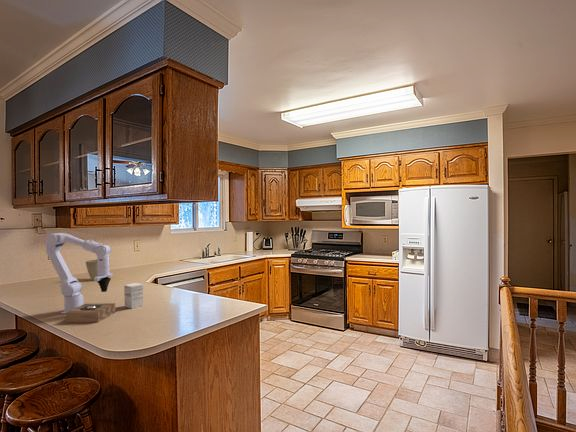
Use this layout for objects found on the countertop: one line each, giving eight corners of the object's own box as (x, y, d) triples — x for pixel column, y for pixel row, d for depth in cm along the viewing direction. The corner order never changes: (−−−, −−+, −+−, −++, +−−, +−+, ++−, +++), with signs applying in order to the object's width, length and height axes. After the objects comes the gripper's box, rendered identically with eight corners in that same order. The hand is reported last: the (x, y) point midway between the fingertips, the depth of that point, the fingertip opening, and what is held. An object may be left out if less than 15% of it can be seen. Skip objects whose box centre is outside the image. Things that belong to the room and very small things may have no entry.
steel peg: (90, 315, 172) (89, 305, 172) (97, 315, 172) (97, 305, 172) (85, 317, 168) (85, 307, 168) (93, 317, 168) (93, 307, 168)
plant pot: (92, 278, 276) (91, 259, 276) (110, 277, 277) (110, 258, 277) (82, 282, 261) (81, 262, 261) (101, 281, 262) (101, 261, 262)
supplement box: (124, 307, 188) (123, 285, 188) (136, 304, 195) (135, 282, 194) (131, 309, 184) (131, 286, 184) (143, 305, 191) (143, 283, 190)
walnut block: (85, 312, 178) (85, 302, 178) (115, 312, 178) (115, 302, 178) (65, 322, 162) (65, 311, 162) (98, 322, 162) (98, 311, 162)
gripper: (103, 269, 175) (104, 294, 175) (117, 264, 189) (118, 288, 190) (90, 269, 175) (90, 294, 175) (105, 264, 189) (105, 288, 190)
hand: (104, 291), depth 182 cm, fingers closed
